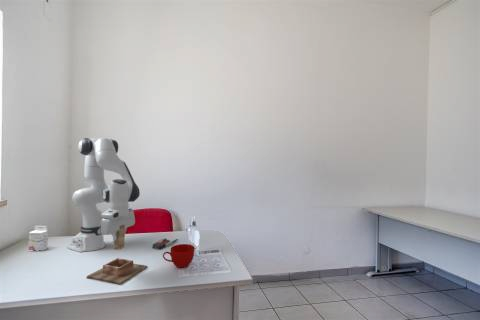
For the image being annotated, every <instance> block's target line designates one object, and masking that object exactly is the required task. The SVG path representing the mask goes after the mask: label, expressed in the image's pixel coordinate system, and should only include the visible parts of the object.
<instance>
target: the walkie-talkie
mask: <svg viewBox="0 0 480 320" xmlns="http://www.w3.org/2000/svg"><path fill="white" fill-rule="evenodd" d="M176 241H178V238H176V239H174V240H172V241H170V240H169V239H167V238H164V237H163V238H160V239H159V240H158V241H157V242H155V243H152V249H156V250H162V249H164V248H167V247H171V246H173V244H174V243H175V242H176Z"/></svg>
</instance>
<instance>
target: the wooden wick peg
mask: <svg viewBox="0 0 480 320" xmlns="http://www.w3.org/2000/svg"><path fill="white" fill-rule="evenodd" d="M116 236H118V239H117V240H113V250H118V251H120V250H122V249H124V248H125V237H126V232H125V224H124V225H121V226H120V230H119V231H117V233H116ZM124 236H125V237H124Z"/></svg>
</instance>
